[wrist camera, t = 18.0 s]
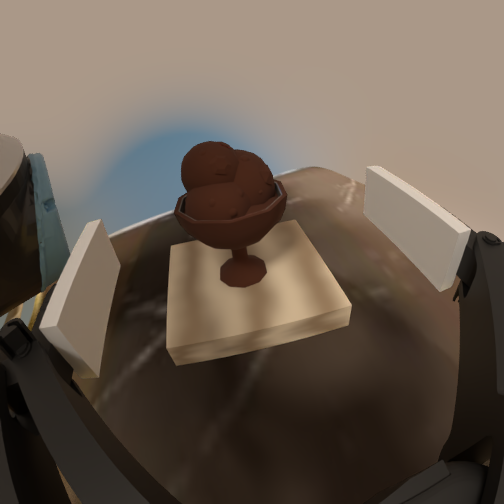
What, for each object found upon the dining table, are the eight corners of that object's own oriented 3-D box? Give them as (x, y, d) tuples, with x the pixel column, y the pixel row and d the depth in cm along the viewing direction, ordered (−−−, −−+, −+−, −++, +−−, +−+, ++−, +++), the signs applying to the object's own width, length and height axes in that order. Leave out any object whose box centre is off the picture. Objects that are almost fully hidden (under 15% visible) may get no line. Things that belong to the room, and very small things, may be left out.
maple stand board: (176, 365, 27) (166, 348, 25) (176, 262, 41) (170, 245, 40) (348, 325, 28) (351, 305, 27) (296, 237, 43) (295, 219, 41)
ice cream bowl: (237, 323, 27) (203, 167, 18) (180, 273, 34) (144, 153, 26) (311, 268, 32) (306, 132, 23) (246, 235, 39) (229, 125, 31)
